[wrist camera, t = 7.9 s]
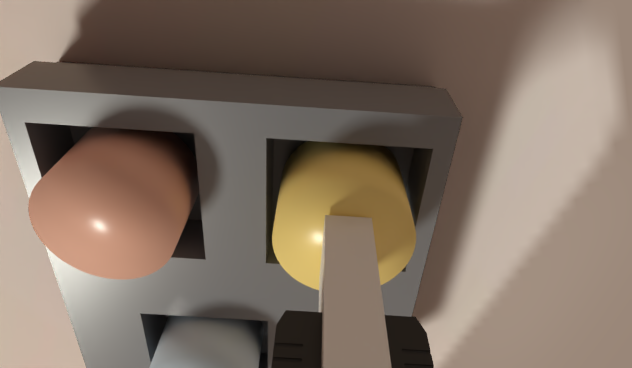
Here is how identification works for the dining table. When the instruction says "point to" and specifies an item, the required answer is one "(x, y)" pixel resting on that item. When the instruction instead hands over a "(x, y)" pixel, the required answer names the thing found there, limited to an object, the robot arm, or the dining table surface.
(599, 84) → the dining table surface
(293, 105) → the button panel
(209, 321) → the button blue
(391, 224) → the button mustard
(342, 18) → the dining table surface
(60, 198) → the salmon pink rounded dome
